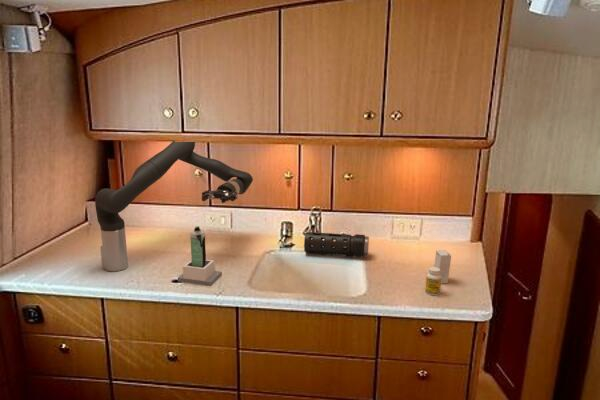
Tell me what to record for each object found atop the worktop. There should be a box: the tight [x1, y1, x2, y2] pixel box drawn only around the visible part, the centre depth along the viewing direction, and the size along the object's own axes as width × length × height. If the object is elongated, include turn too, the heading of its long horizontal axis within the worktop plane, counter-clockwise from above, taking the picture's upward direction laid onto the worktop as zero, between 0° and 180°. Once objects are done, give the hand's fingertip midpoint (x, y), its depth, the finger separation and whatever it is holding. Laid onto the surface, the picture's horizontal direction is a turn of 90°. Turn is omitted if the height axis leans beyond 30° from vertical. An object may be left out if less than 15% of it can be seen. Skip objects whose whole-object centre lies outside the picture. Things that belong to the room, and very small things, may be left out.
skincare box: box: [433, 249, 452, 284], centre depth 194 cm, size 6×4×12 cm
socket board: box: [177, 259, 223, 287], centre depth 194 cm, size 14×10×6 cm
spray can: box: [190, 225, 207, 268], centre depth 192 cm, size 6×6×20 cm
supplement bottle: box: [424, 266, 442, 296], centre depth 184 cm, size 5×5×10 cm
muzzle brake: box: [303, 231, 370, 258], centre depth 219 cm, size 10×28×10 cm, turn 81°
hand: (212, 199), depth 200 cm, fingers open, 8 cm apart
